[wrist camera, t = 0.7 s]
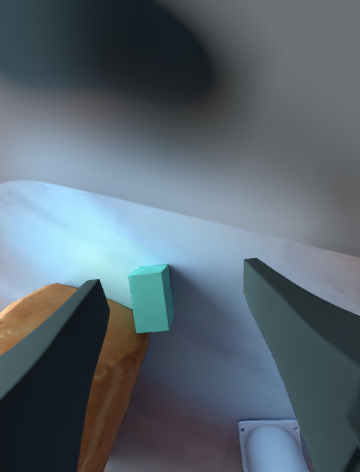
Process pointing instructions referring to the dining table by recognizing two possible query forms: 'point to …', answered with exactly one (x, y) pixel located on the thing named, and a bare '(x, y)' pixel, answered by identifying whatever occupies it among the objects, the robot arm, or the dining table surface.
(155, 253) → the dining table surface
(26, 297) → the bread
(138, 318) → the teal rectangular block
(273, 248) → the dining table surface
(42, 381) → the robot arm
